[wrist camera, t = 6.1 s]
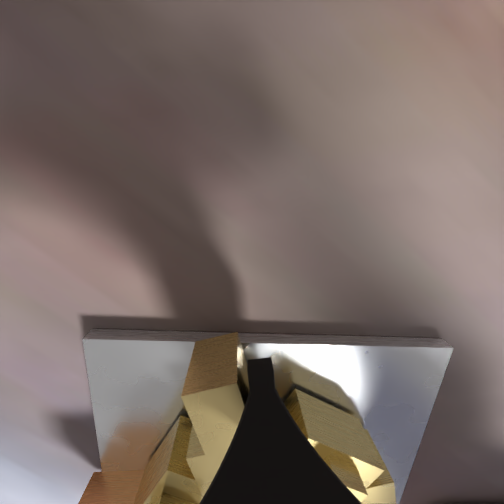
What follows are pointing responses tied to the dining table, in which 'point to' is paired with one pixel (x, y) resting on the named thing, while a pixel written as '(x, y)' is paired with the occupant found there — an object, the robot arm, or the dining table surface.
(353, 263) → the dining table surface
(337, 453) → the yellow blocky ring
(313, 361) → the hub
